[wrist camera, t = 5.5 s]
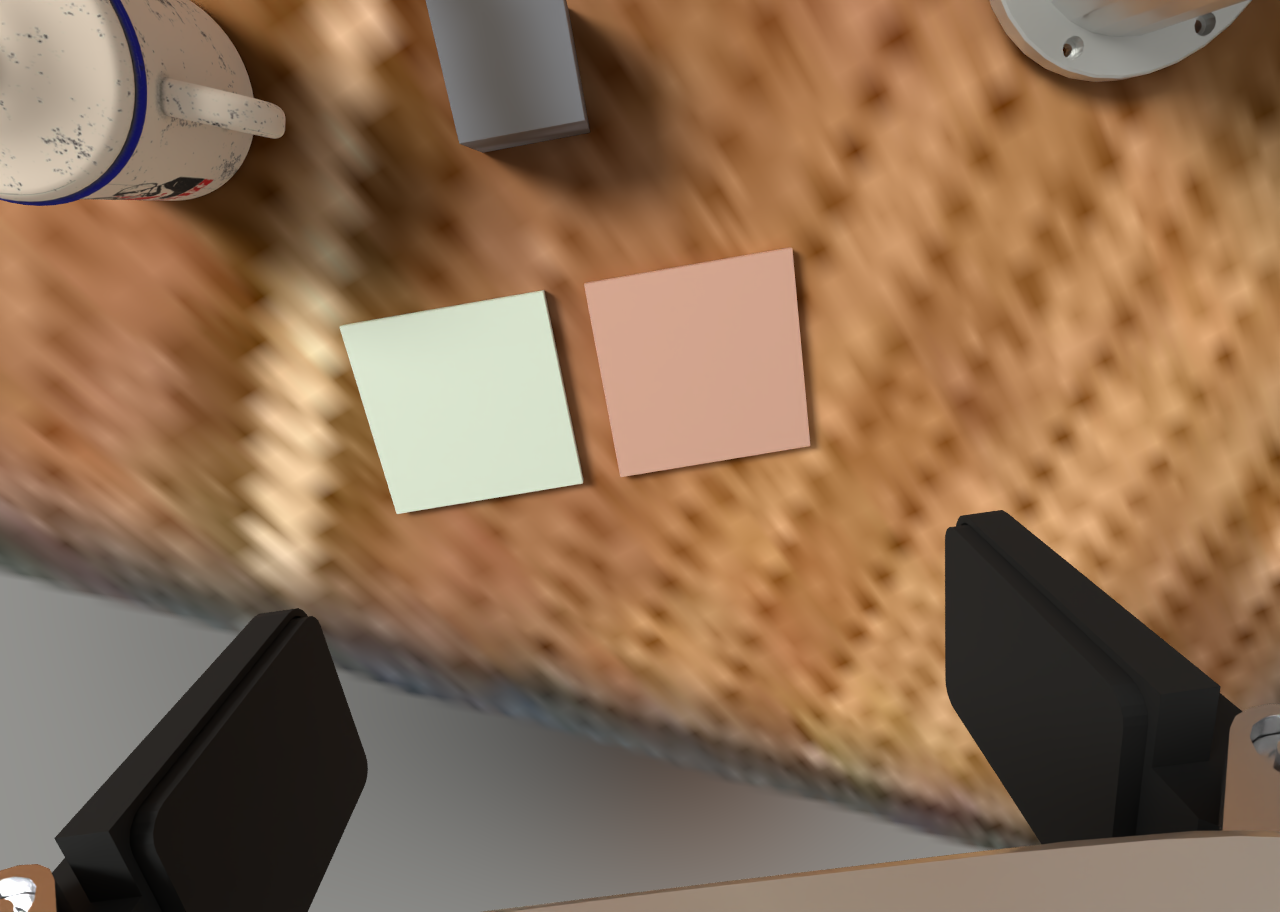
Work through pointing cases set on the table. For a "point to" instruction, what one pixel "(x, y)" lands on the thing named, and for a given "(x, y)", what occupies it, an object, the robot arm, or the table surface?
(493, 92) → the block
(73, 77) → the teacup with lid
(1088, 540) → the table surface
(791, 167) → the table surface
